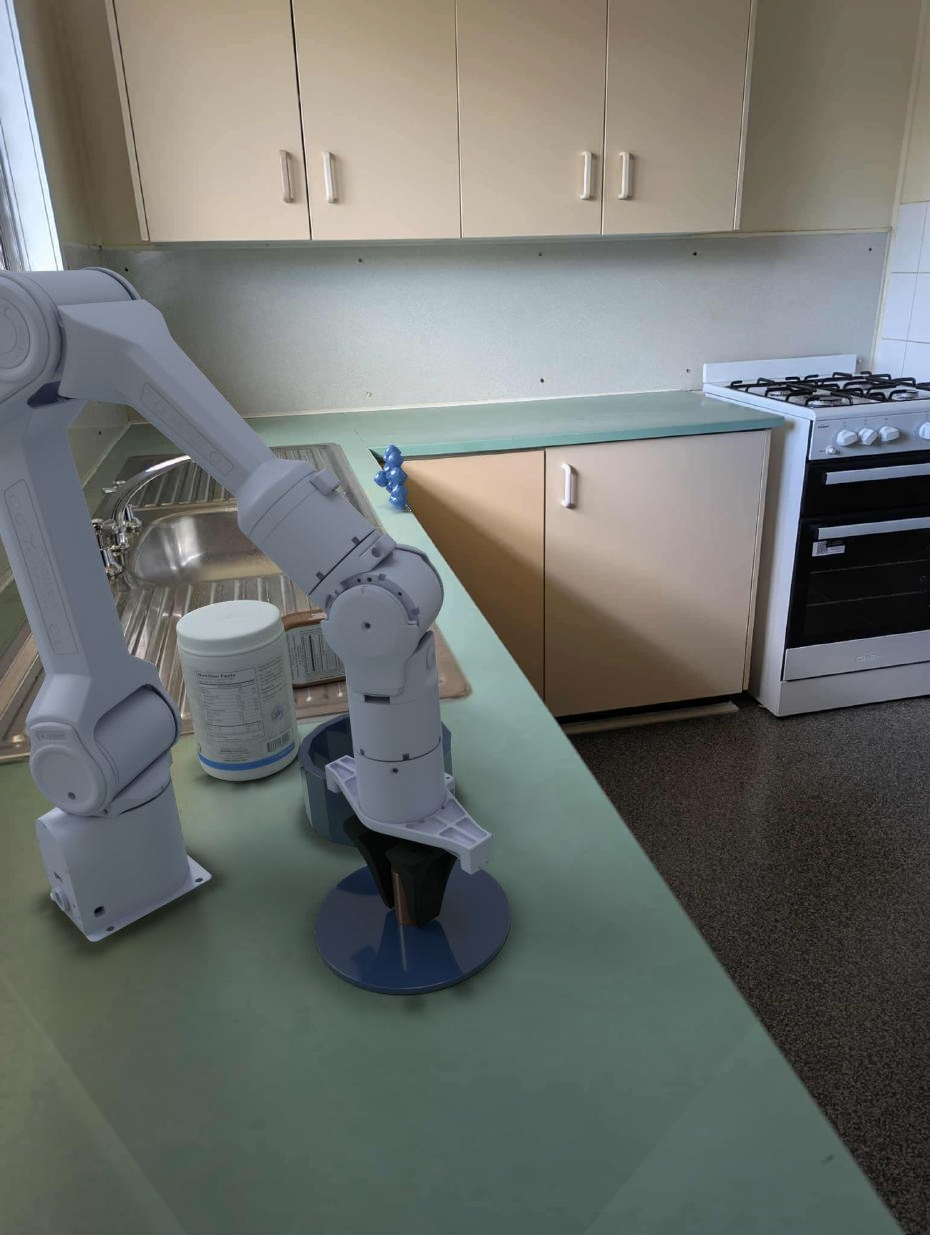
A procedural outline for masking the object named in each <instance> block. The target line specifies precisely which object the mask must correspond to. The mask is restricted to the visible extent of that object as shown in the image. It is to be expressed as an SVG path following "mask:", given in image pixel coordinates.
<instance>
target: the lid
mask: <svg viewBox="0 0 930 1235" xmlns="http://www.w3.org/2000/svg"><path fill="white" fill-rule="evenodd" d="M391 875H392V885H393V895H394V905H395V907H393V908H392V909H390V908H388V907H387V906H385V904H384V902H383V900H382V898H381V896H380V893H379V891H378V888H377V886H376V883H375V881H374V879H373V876H372V874H371V872H370V869H369V867H368V865H367V864H366V865H364V866H363V867H361V868H359V869H357V870H355V871H354V872H352V873H350V874H349V875H347V876H346V877H345V878H343V879H342V880H341V881H340V882H338V883H337V884H336V885H335V886H334V887H333V888H332V889H331V890H330V891H329V893H328V894H327V895H326V897H324V899H323V901H322V903H321V905H320V907H319V909H318V911H317V914H316V917H315V924H314V937H315V942H316V947H317V950H318V953H319V955H320V957H321V959H322V960H323V961H324V963H325V964H326V966H327V967H328V968H329V970H332V972H333V973H334V974H335V975H337V976H339V977H340V978H341V979H342V980H344V981H345V982H348V983H349V984H351V985H353V986H354V987H355V986H356V987H359V988H361V989H364V990H366V991H371V992H375V993H378V994H390V995H416V994H417V995H419V994H425V993H431V992H436V991H438V990H442V989H445V988H449V987H451V986H454V985H456V984H459V983H462V982H463V981H465V980H466V979H469V978H470V977H472V976H474V975H476V974H477V973H478V972H479V971H481V970H482V969H483V968H485V967H486V966H487V965H488V964H489V963H490V962H491V961H492V960H493V959H494V958H495V957H496V955H497V954H498V953H499V952H500V951H501V949H502V947H503V945H504V944H505V942H506V939H507V936H508V935H509V932H510V931H509V929H510V925H511V909H510V904H509V900H508V897H507V894H506V893H505V891H504V889H503V888H502V885H500V883H499V882H498V881H497V880H496V879H495V878H494V877H493V876H492V875H491V874H490V873H489V872H487V871H486V870H484V869H483V868H482V869H480V870H478V871H477V872H475V873H474V874H472V875H471V874H469V873H467V872H466V871H464V870H462V868H461V860H460V858H457V860H456V862H455V864H454V866H453V868H452V871H451V873H450V876H449V879H448V882H447V885H446V889H445V893H444V897H443V901H442V906H441V911H440V915H439V916H437V917H436V918H435V919H433V920H432V921H430V922H429V923H428V924H426V925H425V926H423V927H422V928H417V927H416V926H414V925H413V924H412V922H411V920H410V917H409V915H408V910H407V905H406V899H405V893H404V889H403V886H402V883H401V880H400V878H399V876H398V874H397V872H396V870H395V868H394V866H393V865H392V864H391Z"/></svg>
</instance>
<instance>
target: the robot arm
mask: <svg viewBox="0 0 930 1235" xmlns="http://www.w3.org/2000/svg"><path fill="white" fill-rule="evenodd" d="M89 401H94V402H101V403H110V404H119V405H126V406H129V407H131V408H133V409H134V410H135V411H136V412H137V413H138V414H140V415H141V416H142V417H143V418H144V419H145V420H146V421H147V422H149V423H150V424H151V425H152V426H153V427H155V429H156V430H158V432H160V433H161V434H163V435H164V436H165V437H166V438H167V439H168V440H169V441H171V443H173V444H174V445H175V446H176V447H177V448H179V450H181V452H183V453H184V454H186V455H187V457H189V459H191V460H192V461H193V462H194V463H196V464H197V465H198V466H199V467H200V468H201V469H202V470H204V472H206V473H207V474H208V475H209V476H211V477H212V478H213V479H214V480H215V481H216V482H217V483H218V484H220V486H222V487H223V488H224V489H225V490H226V491H228V492H229V493H230V494H231V495H232V496H233V497H234V498H235V501H236V514H237V525H238V529H239V530H240V531H241V533H243V534H244V535H245V536H246V537H247V538H248V539H249V540H250V542H252V543H253V544H254V546H256V548H258V550H260V551H261V552H262V553H263V554H264V555H265V556H266V557H267V558H268V559H269V560H270V561H271V562H272V563H273V564H274V565H275V566H277V567H278V569H280V571H282V573H283V574H285V576H286V577H287V578H288V579H290V581H291V582H292V583H293V584H295V586H297V587H298V588H299V590H300V591H301V592H303V594H305V596H306V597H308V598H309V599H310V601H311V602H313V603H314V604H315V605H316V606H317V607H318V609H322V610H323V611H324V612H325V613H326V614H327V617H325V620H322V621H321V622H320V623H321V628H322V632H323V635H324V637H325V639H326V641H327V643H328V645H329V646H330V647H331V649H332V650H333V651H334V652H335V654H336V655H337V656H338V657H339V658H340V659H341V661H342V662H343V665H344V667H345V675H346V679H345V685H346V687H345V688H346V692H347V693H346V694H347V703H348V704H347V705H348V713H349V714H350V723H351V732H352V741H353V751H354V758H352V757H350V756H348V755H346V756H344V757H342V758H340V759H338V760H336V761H334V762H332V763H330V764H328V765H326V766H325V771H326V779H327V787H328V789H329V790H331V791H333V792H335V793H339V792H341V791H342V792H343V794H344V795H345V797H346V798H347V800H348V802H349V803H350V805H351V806H352V808H353V810H354V811H355V813H356V814H354V815H352V816H351V817H349V818H347V819H346V820H345V821H344V823H343V831H344V832H345V834H346V835H347V836H348V837H349V838H350V839H351V840H352V842H353V843H354V844H355V845H356V847H357V848H356V847H355V848H356V849H357V850H358V851H359V853H360V855H361V856H362V859H364V862H365V863H366V866H367V865H368V867H369V869H370V872H371V874H372V876H373V879H374V881H375V883H376V886H377V888H378V891H379V893H380V896H381V898H382V900H383V902H384V904H385V906H387V907H388V908H390V909H392V908H393V907H395V905H394V895H393V885H392V875H391V864H392V865H393V866H394V868H395V870H396V872H397V874H398V876H399V878H400V880H401V883H402V886H403V889H404V893H405V899H406V905H407V910H408V915H409V917H410V920H411V922H412V924H413V925H414V926H416V927H417V928H422V927H423V926H425V925H426V924H428V923H429V922H430V921H432V920H433V919H435V918H436V917H437V916H439V915H440V911H441V906H442V901H443V897H444V893H445V889H446V885H447V882H448V879H449V876H450V873H451V871H452V868H453V866H454V864H455V862H456V860H457V859H460V860H461V868H462V870H464V871H466V872H467V873H469V874H471V875H472V874H474V873H475V872H477V871H478V870H480V869H482V870H483V868H485V867H487V865H488V864H490V863H491V862H493V861H494V860H495V859H494V856H495V855H494V838H493V836H494V835H493V834H492V833H491V832H489V831H487V830H486V829H484V828H483V827H482V826H481V825H479V823H477V822H476V821H475V820H474V819H473V817H472V816H471V815H470V813H469V812H468V811H467V810H466V809H465V808H464V807H463V805H462V804H461V803H460V801H458V799H457V798H456V796H455V797H454V796H453V795H452V793H451V792H450V791H449V790H451V789H452V788H453V787H454V784H455V777H454V778H453V777H452V776H451V775H449V774H447V773H445V772H444V760H443V746H442V728H441V721H442V715H441V713H442V712H441V701H440V686H439V684H440V682H439V672H438V667H437V657H436V656H437V655H436V641H435V640H436V638H435V632H434V631H433V630H429V629H430V627H431V626H432V625H433V624H434V622H435V621H436V620H437V618H438V616H439V615H440V612H441V610H442V607H443V605H444V600H445V589H444V588H445V587H444V583H443V579H442V577H441V575H440V573H439V571H438V569H437V568H436V566H435V565H434V564H433V563H432V562H431V559H430V558H429V556H428V554H427V553H426V552H425V551H423V550H421V549H420V548H418V547H416V546H413V545H409V544H406V543H397V541H396V540H395V539H394V538H392V536H390V534H389V533H388V532H384V533H383V534H381V533H380V532H379V530H377V529H376V527H374V526H373V524H371V522H370V521H369V520H367V518H365V516H363V514H362V513H361V512H360V511H359V510H357V508H355V507H354V505H353V504H352V503H350V501H348V499H347V498H346V497H345V496H344V495H343V494H342V493H341V492H340V491H338V488H340V486H341V483H342V482H341V480H340V479H339V478H338V477H337V476H336V475H335V474H334V473H333V472H332V471H331V469H329V468H323V469H321V470H320V471H319V470H318V469H317V468H316V467H315V466H314V465H313V464H312V463H311V462H310V461H308V460H303V459H288V458H281V457H278V456H277V455H276V454H275V453H274V452H273V451H272V450H271V449H270V447H269V446H268V445H267V444H266V443H265V442H264V441H263V439H261V437H260V436H259V435H258V434H257V432H255V430H254V429H253V428H252V427H251V425H249V423H248V422H247V421H246V420H245V419H244V418H243V417H242V415H241V414H239V413H238V411H237V410H236V409H235V407H233V406H232V405H231V403H230V402H229V401H228V400H227V399H226V398H225V397H224V396H223V395H222V393H221V392H220V391H219V389H217V388H216V386H215V385H213V383H212V382H211V381H210V380H209V379H208V377H207V376H206V375H205V374H204V373H203V372H202V371H201V369H200V368H198V366H197V365H196V364H195V363H194V361H193V360H191V358H190V357H189V356H188V355H187V354H186V353H185V351H184V350H182V348H181V347H180V346H179V345H178V344H177V343H176V341H175V340H174V338H173V336H172V335H171V333H170V330H169V328H168V326H167V322H166V320H165V318H164V316H163V314H162V312H161V311H160V310H159V309H158V308H157V307H155V306H154V305H153V304H152V303H151V302H149V301H148V300H146V299H144V298H143V299H142V298H141V296H140V293H139V292H138V291H137V290H136V288H135V287H134V286H133V285H132V283H130V282H129V281H128V279H126V278H125V277H124V276H122V275H121V274H119V273H118V272H116V271H114V270H112V269H109V268H106V267H102V266H101V267H100V266H89V267H88V266H87V267H82V268H80V269H68V270H67V269H66V270H31V271H27V270H25V271H23V270H22V271H11V270H8V269H3V268H0V538H1V541H2V544H3V547H4V550H5V553H6V557H7V561H8V563H9V565H10V568H11V573H12V575H13V578H14V581H15V583H16V584H15V585H16V588H17V590H18V594H19V597H20V600H21V603H22V606H23V609H24V611H25V615H26V618H27V621H28V624H29V628H30V631H31V633H32V636H33V640H34V643H35V645H36V648H37V651H38V655H39V659H40V661H41V664H42V667H43V670H44V673H45V677H44V680H43V682H42V684H41V686H40V688H39V690H38V692H37V695H36V696H35V699H34V701H33V703H32V704H31V707H30V709H29V711H28V713H27V714H26V715H27V716H26V718H25V720H24V722H25V727H26V729H27V732H28V735H29V740H30V752H29V759H28V761H29V763H28V764H29V770H30V774H31V778H32V780H33V782H34V784H35V786H36V788H37V790H38V791H39V793H40V794H41V795H42V797H43V798H45V800H47V801H48V802H49V804H52V805H53V806H54V808H52V809H51V810H49V811H48V812H46V813H45V814H43V815H41V816H40V817H38V818H36V820H35V821H34V832H35V836H36V841H37V844H38V848H39V851H40V855H41V859H42V863H43V866H44V869H45V873H46V877H47V880H48V885H49V888H50V891H51V892H50V893H49V896H50V899H51V901H54V902H55V903H56V904H57V906H58V907H59V908H60V910H61V911H62V912H64V913H65V915H66V916H67V917H68V918H70V920H71V922H72V923H73V924H74V925H75V927H77V928H78V929H79V930H80V932H81V933H82V934H83V935H84V936H85V938H87V939H88V941H90V942H92V943H96V942H98V941H101V940H103V939H105V938H106V937H108V936H110V935H112V934H114V933H115V932H118V931H119V930H122V929H123V928H124V927H126V926H129V925H130V924H132V923H134V922H136V921H137V920H139V919H141V918H143V917H145V916H146V915H148V914H151V913H152V912H154V911H156V910H158V909H159V908H161V907H163V906H165V905H167V904H168V903H171V902H172V901H174V900H176V899H178V898H180V897H181V896H183V895H185V894H187V893H189V892H191V891H192V890H194V889H196V888H198V887H199V886H201V885H203V884H205V883H207V882H208V881H210V880H211V879H212V878H213V875H212V874H211V873H210V872H209V871H208V870H206V869H205V868H204V867H203V866H202V865H200V864H199V863H198V862H197V861H196V860H194V859H193V858H192V857H191V856H190V855H188V853H187V849H186V843H185V839H184V838H185V837H184V833H183V829H182V825H181V824H182V823H181V818H180V814H179V809H178V804H177V799H176V795H175V789H174V784H173V780H172V775H171V766H172V765H173V764H174V759H173V755H172V754H173V753H172V750H171V749H172V748H173V747H175V746H176V744H178V742H179V740H180V738H181V737H182V736H181V735H182V732H183V718H182V715H181V712H180V709H179V707H178V705H177V703H176V702H175V700H174V699H173V698H172V696H171V695H170V693H168V691H167V689H166V688H165V687H164V685H163V683H162V681H161V678H160V674H159V671H158V668H157V665H155V663H153V662H151V661H149V660H146V659H143V658H142V657H138V656H137V655H136V656H135V655H133V654H131V653H130V651H129V648H128V644H127V640H126V637H125V634H124V633H125V632H124V630H123V627H122V622H121V619H120V616H119V613H118V609H117V606H116V601H115V598H114V595H113V592H112V588H111V584H110V581H109V577H108V574H107V570H106V566H105V563H104V559H103V556H102V553H101V549H100V546H99V543H98V542H99V541H98V539H97V535H96V532H95V527H94V525H93V522H92V521H93V520H92V517H91V514H90V510H89V507H88V504H87V499H86V496H85V493H84V489H83V487H82V486H83V485H82V484H81V479H80V475H79V472H78V469H77V464H76V463H75V458H74V455H73V451H72V448H71V444H70V441H69V437H68V430H69V428H70V427H71V426H72V424H73V423H74V421H75V420H76V419H77V417H78V416H79V414H80V413H81V411H82V410H83V409H84V407H85V406H86V404H87V403H88V402H89ZM198 880H201V881H199V882H197V881H198ZM109 928H113V929H111V930H108V929H109Z"/></svg>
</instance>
